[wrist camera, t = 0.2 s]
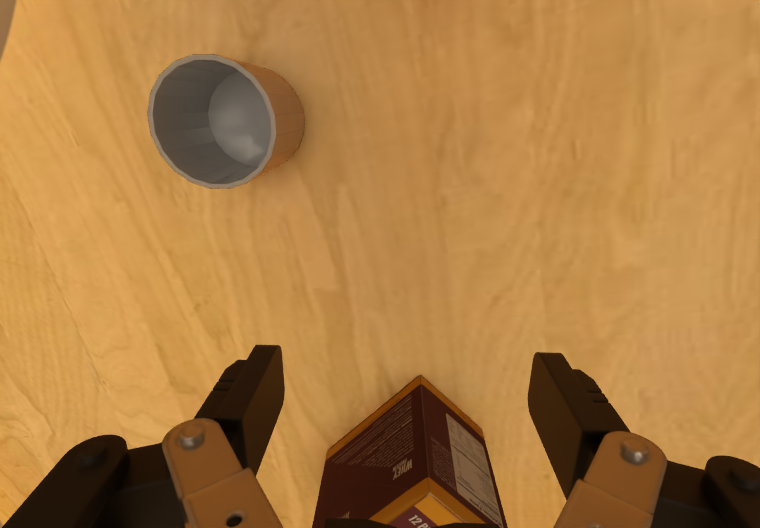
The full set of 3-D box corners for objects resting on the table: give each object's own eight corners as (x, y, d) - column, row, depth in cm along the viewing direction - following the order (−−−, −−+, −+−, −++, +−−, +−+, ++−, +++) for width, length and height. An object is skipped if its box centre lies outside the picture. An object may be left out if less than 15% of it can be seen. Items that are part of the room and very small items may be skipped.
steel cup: (201, 66, 38) (137, 53, 29) (302, 66, 38) (270, 54, 28) (213, 168, 41) (159, 187, 32) (306, 170, 41) (279, 189, 31)
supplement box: (324, 451, 52) (296, 588, 37) (420, 373, 48) (430, 492, 33) (387, 500, 54) (384, 648, 39) (483, 429, 50) (520, 565, 35)
